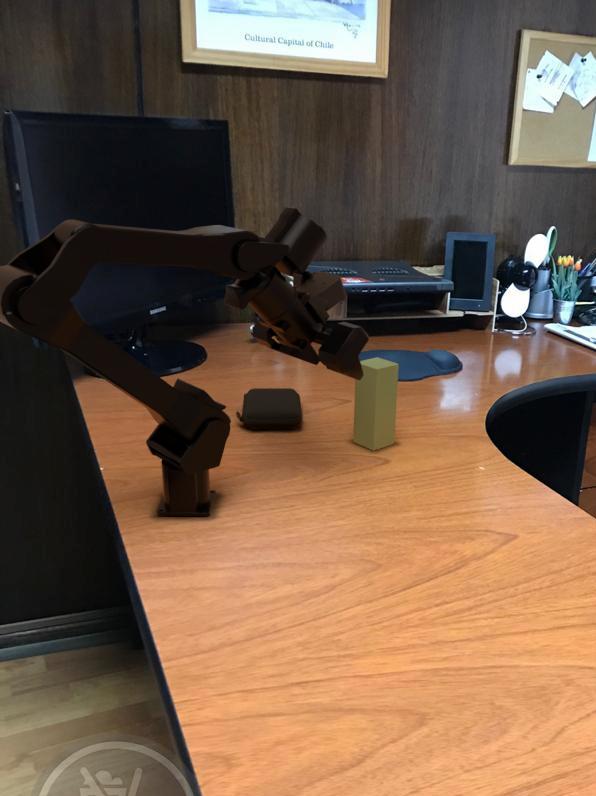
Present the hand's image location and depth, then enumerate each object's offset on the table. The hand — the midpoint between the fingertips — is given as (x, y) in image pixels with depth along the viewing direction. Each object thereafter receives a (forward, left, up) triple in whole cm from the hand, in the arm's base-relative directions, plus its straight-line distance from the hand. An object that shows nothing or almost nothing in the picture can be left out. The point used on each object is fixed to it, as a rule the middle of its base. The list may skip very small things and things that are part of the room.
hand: (339, 369), depth 111 cm
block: (+5, -6, -13) cm, 15 cm away
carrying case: (+16, +11, -14) cm, 24 cm away
